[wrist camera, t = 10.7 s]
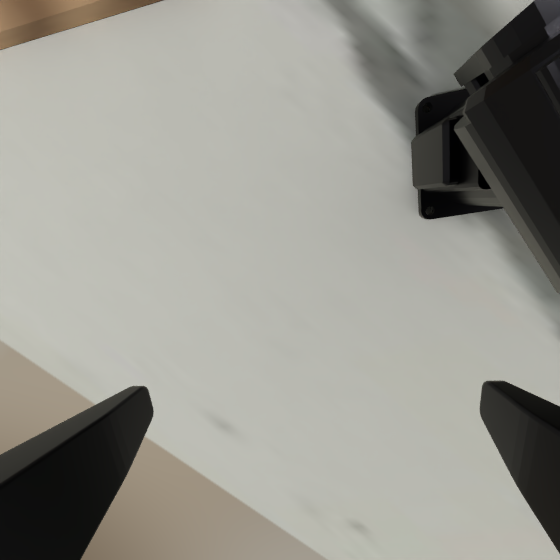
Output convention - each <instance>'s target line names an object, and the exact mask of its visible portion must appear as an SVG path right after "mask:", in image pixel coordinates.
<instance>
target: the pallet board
mask: <svg viewBox="0 0 560 560" xmlns="http://www.w3.org/2000/svg"><path fill="white" fill-rule="evenodd" d="M159 1H162V0H0V50H1V49H4V48H8V47H11V46H14V45H17V44H21V43H24V42H27V41H31V40H34V39H37V38H40V37H44V36H47V35H50V34H54V33H57V32H60V31H63V30H67V29H70V28H73V27H77V26H80V25H83V24H86V23H90V22H93V21H96V20H99V19H103V18H106V17H109V16H113V15H116V14H119V13H122V12H126V11H129V10H132V9H136V8H139V7H142V6H145V5H149V4H152V3H155V2H159Z"/></svg>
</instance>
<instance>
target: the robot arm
mask: <svg viewBox="0 0 560 560" xmlns="http://www.w3.org/2000/svg"><path fill="white" fill-rule="evenodd" d="M454 76H455V77H456V79H457V81H458V82H459V84H460V85H461V86H463V85H464V86H465V88H466V89H464V90H459V91H454V92H450V93H445V94H440V95H436V96H431V97H427V98H425V99H423V100H422V101H421V102H420V103H419V104H418V105H417V107H416V110H415V120H416V136H415V138H414V139H413V140H412V142H411V149H412V175H413V186H414V187H415V188H416V189H418V206H419V215H420V216H421V217H422V218H424V219H436V218H443V217H449V216H456V215H462V214H469V213H475V212H482V211H488V210H495V209H502V208H504V210H505V211H506V213H507V214H508V216H509V217H510V219H511V221H512V222H513V224H514V225H515V227H516V228H517V230H518V232H519V233H520V235H521V236H522V238H523V240H524V241H525V243H526V244H527V246H528V247H529V249H530V251H531V252H532V254H533V255H534V257H535V258H536V260H537V262H538V263H539V265H540V266H541V268H542V269H543V271H544V273H545V274H546V276H547V277H548V279H549V281H550V282H551V284H552V285H553V287H554V288H555V290H556V292H557V293H559V294H560V0H535V1H534V2H532V3H531V4H530V5H529V6H528V7H527V8H525V9H524V10H523V11H522V12H521V13H520V14H519V15H517V16H516V17H515V18H514V19H513V20H512V21H511V22H509V23H508V24H507V25H506V26H505V27H504V28H503V29H501V30H500V31H499V32H498V33H497V34H496V35H495V36H493V37H492V38H491V39H490V40H489V41H488V42H487V43H486V44H484V45H483V46H482V47H481V48H480V49H479V50H478V51H477V52H476V53H475V54H474V55H473V56H472V57H471V58H470V59H469V60H468V61H467V62H466V63H465V64H464V65H463V66H462V67H460V68H459V69H458V70H457V71H456V72H455V73H454ZM423 105H428V106H429V108H430V110H429V112H428V113H425V112H424V111H423ZM428 207H431V208H432V212H431V213H430V214H429V215H427V214H426V212H425V211H426V209H427V208H428ZM480 414H481V417H482V420H483V422H484V424H485V426H486V428H487V430H488V432H489V433H490V435H491V437H492V439H493V441H494V443H495V445H496V447H497V449H498V451H499V453H500V455H501V457H502V459H503V461H504V462H505V464H506V466H507V468H508V470H509V472H510V474H511V476H512V478H513V479H514V481H515V483H516V485H517V487H518V488H519V490H520V492H521V493H522V495H523V497H524V498H525V500H526V501H527V503H528V504H529V506H530V508H531V509H532V511H533V512H534V514H535V515H536V517H537V519H538V520H539V522H540V523H541V525H542V527H543V528H544V530H545V531H546V533H547V534H548V536H549V538H550V539H551V541H552V542H553V544H554V545H555V547H556V549H557V550H558V552H559V553H560V406H557V405H555V404H553V403H551V402H549V401H547V400H544V399H542V398H540V397H538V396H536V395H534V394H531V393H529V392H527V391H525V390H523V389H521V388H518V387H516V386H514V385H512V384H510V383H508V382H505V381H486V382H484V383H483V385H482V392H481V401H480ZM152 417H153V406H152V402H151V398H150V395H149V391H148V389H147V387H145V386H131V387H129V388H127V389H125V390H123V391H121V392H119V393H117V394H116V395H114V396H112V397H110V398H108V399H106V400H104V401H102V402H100V403H98V404H96V405H94V406H93V407H91V408H89V409H87V410H85V411H83V412H81V413H79V414H77V415H75V416H74V417H72V418H70V419H68V420H66V421H64V422H62V423H60V424H58V425H56V426H54V427H52V428H51V429H49V430H47V431H45V432H43V433H41V434H39V435H37V436H35V437H33V438H31V439H30V440H28V441H26V442H24V443H22V444H20V445H18V446H16V447H14V448H12V449H10V450H8V451H7V452H5V453H3V454H1V455H0V560H81V558H82V556H83V554H84V552H85V550H86V548H87V547H88V545H89V543H90V541H91V540H92V537H93V536H94V534H95V532H96V530H97V529H98V527H99V525H100V523H101V521H102V520H103V518H104V516H105V514H106V512H107V510H108V509H109V507H110V505H111V503H112V501H113V499H114V498H115V496H116V494H117V492H118V490H119V489H120V487H121V485H122V483H123V481H124V479H125V477H126V475H127V473H128V471H129V469H130V467H131V465H132V463H133V460H134V458H135V456H136V454H137V451H138V449H139V447H140V445H141V443H142V440H143V438H144V436H145V434H146V431H147V429H148V427H149V425H150V422H151V420H152Z"/></svg>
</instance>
